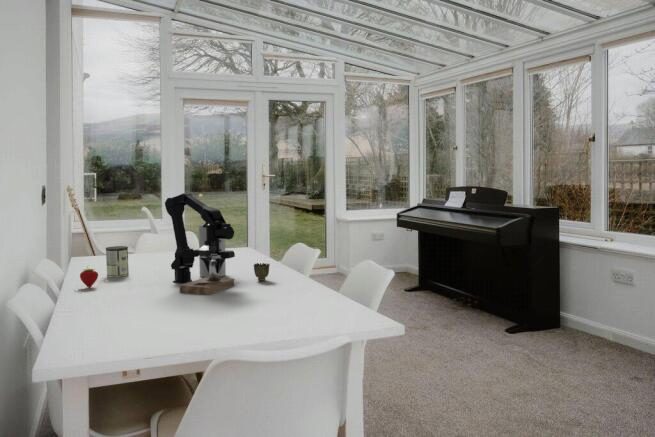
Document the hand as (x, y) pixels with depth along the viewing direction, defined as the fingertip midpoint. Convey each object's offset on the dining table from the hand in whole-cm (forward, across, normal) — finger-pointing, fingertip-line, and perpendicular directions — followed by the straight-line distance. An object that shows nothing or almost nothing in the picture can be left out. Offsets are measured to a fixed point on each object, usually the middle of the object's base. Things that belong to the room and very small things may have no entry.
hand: (213, 273), depth 242 cm
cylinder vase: (+6, -15, +23) cm, 28 cm away
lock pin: (+4, 0, 0) cm, 4 cm away
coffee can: (+6, -60, +8) cm, 61 cm away
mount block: (+6, 0, -5) cm, 8 cm away
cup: (+6, +14, +19) cm, 24 cm away
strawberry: (+6, -51, -20) cm, 55 cm away
